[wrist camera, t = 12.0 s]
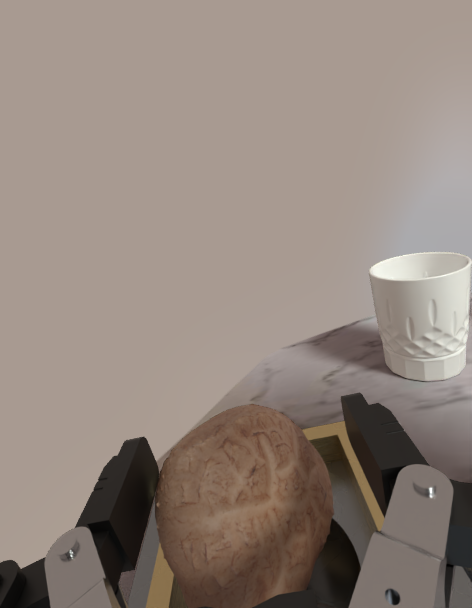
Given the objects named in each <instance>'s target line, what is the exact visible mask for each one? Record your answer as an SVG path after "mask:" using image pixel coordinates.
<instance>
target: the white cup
mask: <svg viewBox="0 0 472 608" xmlns="http://www.w3.org/2000/svg"><path fill="white" fill-rule="evenodd" d="M471 266H472V260H471V259H470V258H469V257H467V256H465V255H462V254H457V253H448V252H426V253H416V254H408V255H402V256H398V257H394V258H390V259H387V260H384V261H381V262H379V263H377V264H375V265H373V266H372V267H371V268H370V270H369V276H370V282H371V288H372V294H373V300H374V306H375V312H376V318H377V323H378V328H379V333H380V337H381V340H382V342H383V350H384V356H385V362H386V365H387V366H388V367H389V368H390V369H391V371H392V372H393V373H396V374H398V375H400V376H402V377H405V378H407V379H413V380H419V381H439V380H445V379H448V378H451V377H453V376H456V375H458V374H459V373H460V372H461V371H462V369H463V368H464V367H465V364H466V341H467V336H468V321H469V315H470V291H471V290H470V289H471V268H472V267H471Z"/></svg>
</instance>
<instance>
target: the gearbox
mask: <svg viewBox="0 0 472 608" xmlns="http://www.w3.org/2000/svg"><path fill="white" fill-rule="evenodd" d="M302 431H303V433H304V434H305V436H306V438H307V439H308V440H309V441H310V443H311V444H312V445H313V446H314V447H315V449H316V450H317V451H318V453H319V454H320V456H321V457H322V459H323V461H324V463H325V465H326V468H327V470H328V474H329V477H330V481H331V486H332V494H333V510H334V513H335V514H334V515H333V516H332V519H331V525H330V534H329V535H328V536H327V538H326V543H325V544H324V546H323V549H322V551H321V552H320V554H319V556H318V558H317V560H316V562H315V565H314V568H313V572H312V575H311V578H310V582H309V584H308V587H307V589H306V590H310V589H314V591H315V595H316V599H317V602H318V603H323V604H327V605H330V606H334V607H336V608H349V605H350V602H351V599H352V595H353V592H354V589H355V586H356V583H357V580H358V577H359V574H360V571H361V568H362V565H363V561H364V558H365V555H366V552H367V549H368V546H369V543H370V540H371V537H372V535H373V533H374V532H375V531H376V530H377V531H379V532H380V530H381V528H382V526H383V522H384V519H385V518H384V516H383V514H382V512H381V510H380V507H379V505H378V503H377V501H376V499H375V496H374V494H373V492H372V490H371V488H370V486H369V483H368V481H367V479H366V477H365V475H364V472H363V470H362V468H361V466H360V464H359V461H358V459H357V457H356V455H355V453H354V450H353V448H352V446H351V444H350V441H349V438H348V435H347V431H346V426H345V421H341V422H336V423H332V424H327V425H322V426H317V427H312V428H307V429H302ZM127 605H128V608H188V606H187V605H186V603H185V599H184V596H183V594H182V590H181V588H180V586H179V584H178V582H177V579H176V577H175V576H174V573H173V572H172V570H171V569H170V567H169V565H168V563H167V561H166V559H164V554H163V550H162V548H161V544H160V542H159V536H158V531H157V523H156V518H155V501H154V504H153V508H152V512H151V516H150V520H149V523H148V527H147V531H146V535H145V539H144V542H143V546H142V550H141V554H140V558H139V561H138V565H137V569H136V573H135V577H134V580H133V584H132V588H131V592H130V596H129V599H128V603H127ZM451 608H472V568H466V567H461V566H456V568H455V577H454V586H453V595H452V604H451Z"/></svg>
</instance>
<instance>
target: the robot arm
mask: <svg viewBox="0 0 472 608" xmlns="http://www.w3.org/2000/svg"><path fill="white" fill-rule="evenodd" d="M341 403H342V409H343V414H344V420H345V426H346V431H347V435H348V438H349V441H350V444H351V446H352V448H353V450H354V453H355V455H356V457H357V459H358V461H359V464H360V466H361V468H362V470H363V472H364V475H365V477H366V479H367V481H368V483H369V486H370V488H371V490H372V492H373V494H374V496H375V499H376V501H377V503H378V505H379V507H380V510H381V512H382V514H383V516H384V518H385V519H384V522H383V526H382V528H381V530H380V532H379V531H377V530H376V531H375V532H374V533H373V535H372V537H371V540H370V543H369V546H368V549H367V552H366V555H365V558H364V561H363V565H362V568H361V571H360V574H359V577H358V580H357V583H356V586H355V589H354V592H353V595H352V599H351V602H350V605H349V608H451V604H452V595H453V586H454V577H455V568H456V566H461V567H466V568H472V483H463V482H458V481H454V480H451V479H448V478H447V477H446V476H445V475H444V474H443V473H442V472H440V471H439V470H437V469H435V468H433V467H430V466H429V464H428V463H427V462H426V460H425V459H424V457H423V456H422V455H421V453H420V452H419V450H418V449H417V448H416V446H415V445H414V443H413V442H412V441H411V439H410V438H409V436H408V435H407V433H406V432H404V429H403V428H402V426H401V425H400V424H399V423H398V421H397V419H396V418H395V417H394V415H393V414H392V412H391V411H390V410H388V409H387V408H385V407H384V406H382V405H381V404H379V403H376V404H372V405H368V403H367V402H366V400H365V399H364V397H363V395H362V394H361V393H355V394H351V395H346V396H341ZM98 480H99V481H98V482H97V483H96V485H95V487H94V491H93V492H92V494H91V496H90V498H89V500H88V502H87V504H86V506H85V508H84V510H83V512H82V514H81V516H80V518H79V520H78V522H77V524H76V527H75V528H74V529H71V530H70V531H68V532H66V533H65V534H63V535H62V536H61V537H60V538H59V539H58V540H57V541H56V542H55V543H54V544H53V545H52V547H51V548H50V550H49V551H48V554H47V555H46V557H45V558H43V559H41V560H39V561H36V562H34V563H32V564H30V565H28V566H26V567H24V568H22V569H20V567H19V566H18V564H17V563H16V562H15V561H13V560H7V561H3V562H1V563H0V608H128V605H127V602H126V600H125V597H124V594H123V592H122V589H121V587H120V585H119V583H118V582H119V579H120V576H121V572H125V571H131V570H135V566H136V563H137V559H138V555H139V551H140V548H141V544H142V540H143V537H144V533H145V529H146V526H147V522H148V518H149V514H150V511H151V507H152V503H153V500H154V496H155V492H156V489H157V485H158V480H159V470H158V465H157V463H156V460H155V458H154V456H153V453H152V451H151V448H150V446H149V444H148V441H147V439H146V438H145V437H140V438H135V439H130V440H126V441H125V442H124V443H123V446H122V447H121V450H120V452H119V454H118V456H114V457H113V458H112V459H111V460H110V461H109V462H108V463H107V465H106V466H105V467H104V469H103V471H102V473H101V475H100V477H99V479H98ZM198 608H212V607H206V606H204V607H198ZM252 608H336V607H334V606H330V605H327V604H323V603H318V602H317V599H316V595H315V591H314V589H310V590H303V591H297V592H291V593H285V594H279V595H276V596H274V597H272V598H270V599H268V600H266V601H264V602H262V603H260V604H258V605H256V606H254V607H252Z"/></svg>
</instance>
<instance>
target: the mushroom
mask: <svg viewBox="0 0 472 608" xmlns="http://www.w3.org/2000/svg"><path fill="white" fill-rule="evenodd" d="M334 514H335V513H334V510H333V494H332V486H331V481H330V477H329V474H328V470H327V468H326V465H325V463H324V461H323V459H322V457H321V456H320V454H319V453H318V451H317V450H316V449H315V447H314V446H313V445H312V444H311V443H310V441H309V440H308V439H307V438H306V436H305V434H304V433H303V431H302V430H301V429H300V427H298V426H297V425H295V423H294V422H293V421H292V420H290V419H289V418H288V417H286V416H285V415H284V414H283V413H280V412H278V411H276V410H273V409H271V408H268V407H263V406H259V405H254V404H250V405H245V406H239V407H235V408H232V409H228V410H226V411H224V412H222V413H220V414H218V415H216V416H215V417H213V418H211V419H210V420H208V421H207V422H205V423H203V424H202V425H200V426H199V427H197V428H196V429H194V430H193V431H192V432H190V433H189V434H188V435H187V436H185V437H184V438H183V439H182V440H181V441H180V442H179V443H178V444H177V446H176V447H175V448H173V450H171V453H170V455H169V457H168V458H167V459H166V460H165V462H164V464H163V467H162V470H161V471H160V475H159V480H158V485H157V490H156V495H155V518H156V523H157V531H158V536H159V542H160V544H161V548H162V550H163V554H164V559H166V561H167V563H168V565H169V567H170V569H171V570H172V572H173V573H174V576H175V577H176V579H177V582H178V584H179V586H180V588H181V590H182V594H183V596H184V599H185V603H186V605H187V606H188V608H198V607H204V606H206V607H212V608H252V607H254V606H256V605H258V604H260V603H262V602H264V601H266V600H268V599H270V598H272V597H274V596H276V595H279V594H285V593H291V592H297V591H303V590H306V589H307V587H308V584H309V582H310V578H311V575H312V572H313V568H314V565H315V562H316V560H317V558H318V556H319V554H320V552H321V551H322V549H323V546H324V544H325V543H326V538H327V536H328V535H329V534H330V525H331V519H332V516H333V515H334Z"/></svg>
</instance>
